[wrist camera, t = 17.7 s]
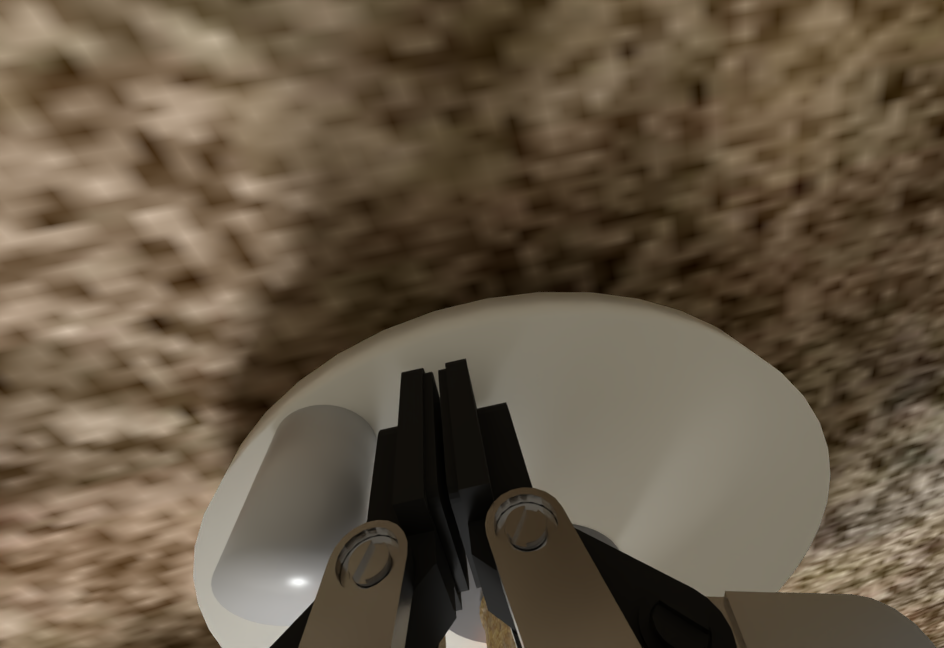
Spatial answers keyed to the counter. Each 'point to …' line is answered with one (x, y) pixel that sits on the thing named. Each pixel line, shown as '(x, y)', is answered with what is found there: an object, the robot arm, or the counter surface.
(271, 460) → the turntable
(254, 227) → the counter surface
